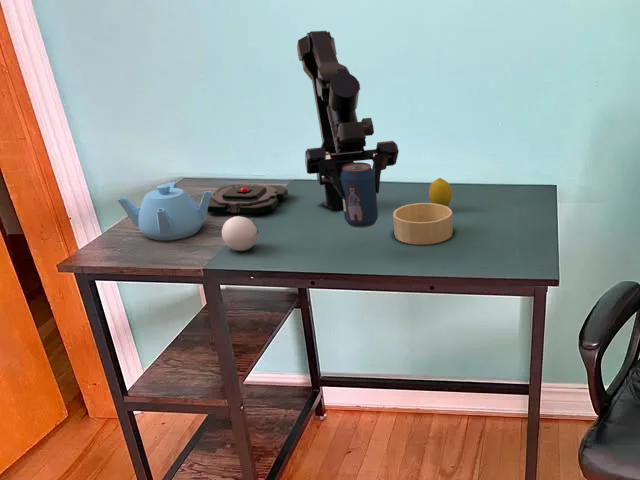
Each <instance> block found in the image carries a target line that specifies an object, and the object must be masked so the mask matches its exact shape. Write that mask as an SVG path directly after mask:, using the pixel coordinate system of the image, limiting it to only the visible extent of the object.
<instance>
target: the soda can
mask: <svg viewBox="0 0 640 480" xmlns="http://www.w3.org/2000/svg"><path fill="white" fill-rule="evenodd" d="M354 162H355V163H349V164H346V165H344V166H343V167H342V169H343V170H342V172H341V175H340V178H341V185H342V188H343V193H344V197H342V198H343V207H344V208H343V217H344V220H345V221H346V223H347V225H349V226H350V227H351V228H357V229H362V228H364V229H365V228H369V227H373V226H374V225H375V224H376V222H377V220H378V219H379V211H378V200H377V199H378V198H377V193H376V185H375V174H374V172H373V170H372V164H369V163H367V162H363V161H354Z"/></svg>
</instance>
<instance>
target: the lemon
mask: <svg viewBox="0 0 640 480" xmlns="http://www.w3.org/2000/svg"><path fill="white" fill-rule="evenodd" d="M452 196H453V192H452V187H451V185H450V183H449V182H448V181H447V180H445V179H444V178H442V177H438V178H437V179H435V180H433V181H432V182H431V183H430V185H429V189H428V199H429V201H430V203H434V204H440V205H444V206H446V207H448V206H449V205H450V204H451V201H452Z"/></svg>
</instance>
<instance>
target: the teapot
mask: <svg viewBox="0 0 640 480" xmlns="http://www.w3.org/2000/svg"><path fill="white" fill-rule="evenodd" d="M155 188H156V189H154V190H151V191H148V192H147V193H146V194H144V196H143V199H142V202H141V204H140V207H139V208H138V207H136V205H135V204H133V202H132V201H130V200H128V198H127V197H120V198H118V199H117V202H118V203H119V205H120V206H121V208H122V209H123V211H125V213H126V215H127V216H128V217H129V219H130V220H131V222H132V223H133V225H134V226H135V227H137V228H138V229H139V230H140V232H141V233H142V234H143V235H145V236H146V237H148V238H149V239H151V240H155V241H175V240H180V239H185V238H189V237H191V236H194V235H196V234H197V233H198V232H199V231H200V229H201V228H202V226H203V224H204V222H205V220H206V217H207V213H208V211H207V209H208V205H209V201H210V197H212V191H211V190H208V191H207V190H206V191H203V194H202V197H201V201H200V203H199V205H198V203H197V202H196V201H195V200H194V199H193V198H192V197H191V195H189V194H188V193H187V192H186V191H185V190H184V189H182V188H179V187H177V184H176V182H166V183H165V184H159V185H157V186H156V187H155Z"/></svg>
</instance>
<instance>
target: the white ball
mask: <svg viewBox="0 0 640 480" xmlns="http://www.w3.org/2000/svg"><path fill="white" fill-rule="evenodd" d="M258 233H259V230H258V228H257V226H256V225H255V224H254V222H253V221H252V220H251V219H249V218H247V217H244V216H239V215H237V216H232V217H231V218H228V219H227V220H226V221H225V222H224V224H223V226H222V229H221V238H222V240H223V242H224V243H225V244H226V246H227V247H229V248H230V249H232V250H233V251H239V252H244V251H248V250H249V249H251V248H252V247H253V246H255V244H256V242H257V240H258Z"/></svg>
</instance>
